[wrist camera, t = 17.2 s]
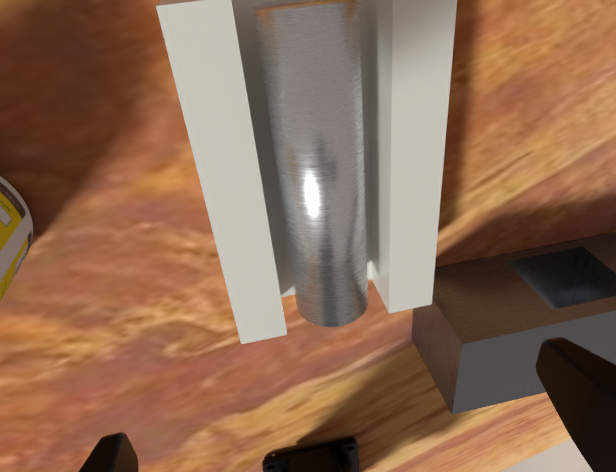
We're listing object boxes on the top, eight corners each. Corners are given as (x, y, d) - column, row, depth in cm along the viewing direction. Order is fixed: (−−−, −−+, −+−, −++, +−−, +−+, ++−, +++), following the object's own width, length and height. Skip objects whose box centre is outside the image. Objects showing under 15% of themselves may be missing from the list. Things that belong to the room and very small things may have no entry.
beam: (625, 292, 28) (702, 354, 24) (411, 338, 26) (452, 414, 22) (652, 224, 25) (745, 281, 21) (415, 272, 24) (462, 344, 19)
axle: (359, 273, 21) (375, 320, 19) (293, 283, 21) (300, 332, 19) (348, -10, 15) (370, 1, 12) (252, 2, 15) (252, 15, 12)
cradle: (403, 259, 23) (431, 304, 20) (236, 292, 22) (241, 344, 19) (412, -36, 16) (459, -32, 13) (165, -6, 15) (155, 5, 12)
